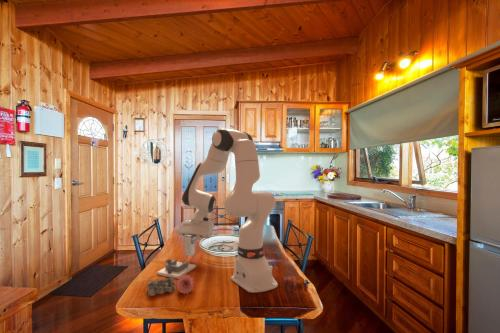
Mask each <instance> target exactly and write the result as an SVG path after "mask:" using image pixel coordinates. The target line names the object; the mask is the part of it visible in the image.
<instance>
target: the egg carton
mask: <svg viewBox="0 0 500 333" xmlns="http://www.w3.org/2000/svg"><path fill="white" fill-rule="evenodd" d="M146 284H147V285H146V286H147V287H146V290H147V295H148V296H151V297H154V296H155V295H158V294H159V295H164V293H167V292H168V293H172V292H174V291H175V286H176V283H175V278H173V277H167V278H161V279H157V280H150V281H149V282H147V283H146Z"/></svg>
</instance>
